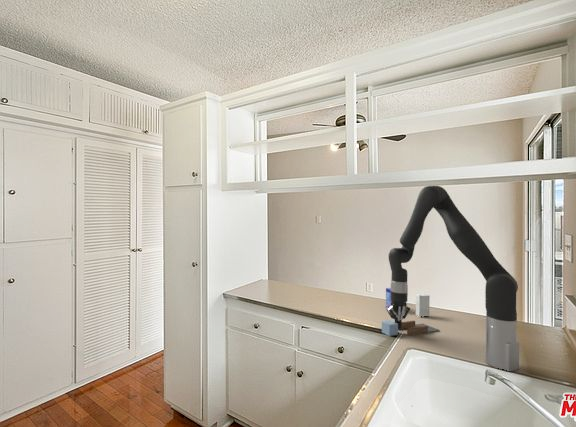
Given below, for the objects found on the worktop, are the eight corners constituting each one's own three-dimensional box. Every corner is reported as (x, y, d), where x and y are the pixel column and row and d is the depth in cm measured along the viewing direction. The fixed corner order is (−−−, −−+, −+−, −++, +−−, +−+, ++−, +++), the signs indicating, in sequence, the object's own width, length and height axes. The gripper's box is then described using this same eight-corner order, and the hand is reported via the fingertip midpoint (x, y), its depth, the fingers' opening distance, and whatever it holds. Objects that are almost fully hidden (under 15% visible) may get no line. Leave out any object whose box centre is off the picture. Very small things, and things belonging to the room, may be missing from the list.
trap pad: (439, 331, 148) (439, 330, 148) (430, 332, 145) (430, 331, 145) (422, 324, 157) (422, 323, 157) (413, 325, 154) (413, 324, 154)
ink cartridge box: (384, 308, 186) (385, 284, 187) (391, 307, 189) (392, 283, 189) (397, 312, 177) (397, 287, 178) (404, 311, 180) (404, 286, 180)
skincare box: (425, 315, 174) (425, 293, 175) (429, 317, 170) (430, 295, 170) (414, 315, 174) (415, 293, 174) (419, 317, 169) (419, 295, 170)
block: (397, 334, 140) (398, 323, 141) (389, 336, 138) (389, 324, 139) (390, 331, 145) (390, 320, 145) (381, 332, 143) (381, 321, 143)
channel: (427, 332, 146) (427, 325, 146) (408, 335, 141) (408, 328, 141) (413, 326, 153) (413, 320, 153) (395, 329, 148) (395, 322, 148)
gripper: (393, 293, 138) (392, 332, 138) (415, 291, 143) (414, 329, 143) (382, 289, 145) (381, 326, 144) (403, 288, 150) (402, 324, 150)
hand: (398, 328), depth 144 cm, fingers closed
